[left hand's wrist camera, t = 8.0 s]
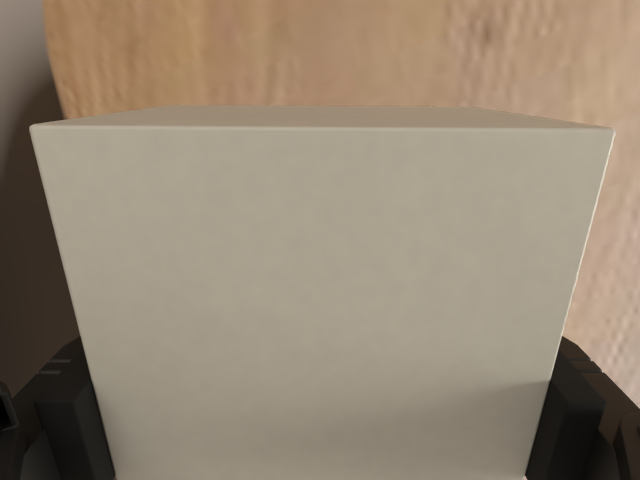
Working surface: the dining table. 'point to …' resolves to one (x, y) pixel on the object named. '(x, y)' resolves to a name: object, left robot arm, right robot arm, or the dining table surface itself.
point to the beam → (321, 283)
